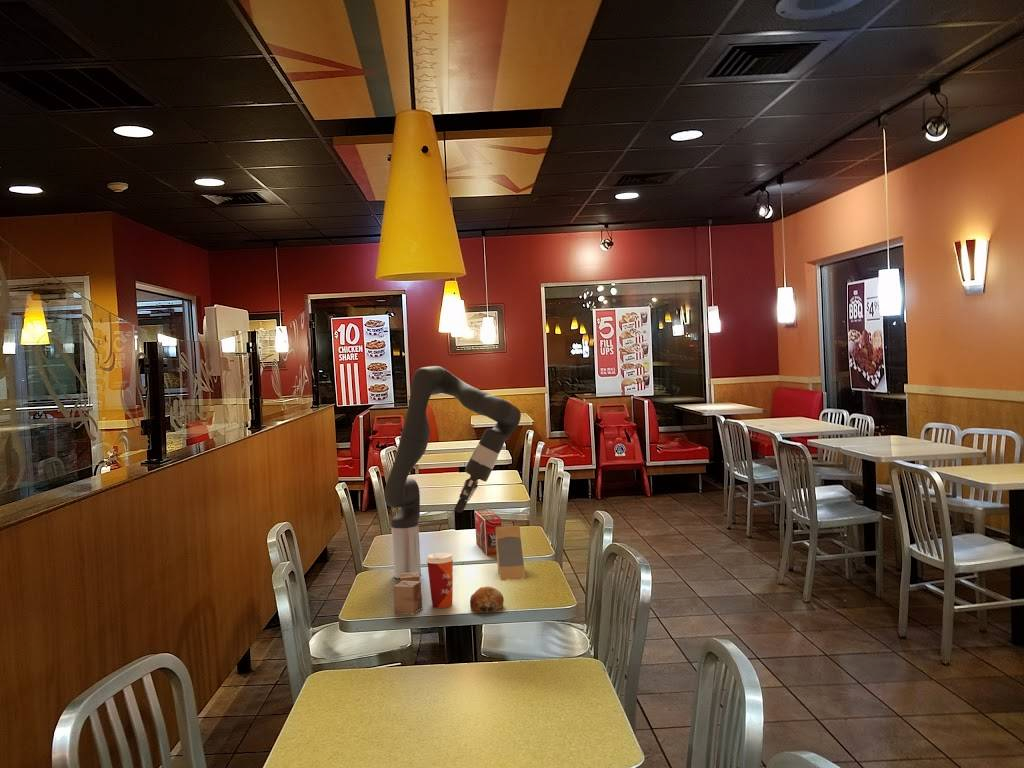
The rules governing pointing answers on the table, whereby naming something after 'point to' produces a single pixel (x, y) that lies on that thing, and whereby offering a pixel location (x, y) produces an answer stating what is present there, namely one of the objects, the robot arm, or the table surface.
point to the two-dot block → (410, 576)
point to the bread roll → (486, 600)
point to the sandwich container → (509, 552)
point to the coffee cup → (441, 579)
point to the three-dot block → (407, 597)
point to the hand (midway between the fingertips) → (458, 511)
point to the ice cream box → (486, 530)
